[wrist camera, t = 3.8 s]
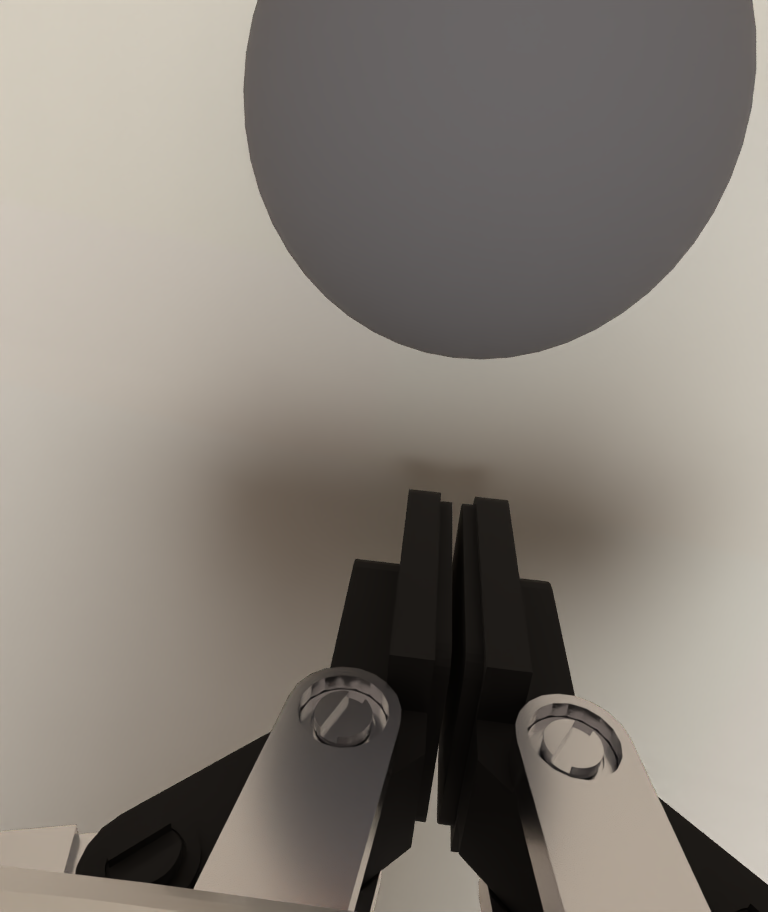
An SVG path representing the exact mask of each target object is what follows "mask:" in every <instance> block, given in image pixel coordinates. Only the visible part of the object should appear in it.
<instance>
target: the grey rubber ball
mask: <svg viewBox="0 0 768 912" xmlns="http://www.w3.org/2000/svg"><path fill="white" fill-rule="evenodd" d="M755 74H756V26H755V18H754V11H753V3H752V0H258V1H257V5H256V8H255V11H254V14H253V19H252V24H251V29H250V35H249V40H248V45H247V51H246V62H245V76H244V111H245V128H246V134H247V141H248V147H249V153H250V159H251V163H252V167H253V170H254V174H255V177H256V181H257V185H258V188H259V192H260V194H261V197H262V199H263V202H264V204H265V207H266V209H267V211H268V214H269V216H270V219H271V221H272V223H273V225H274V227H275V229H276V231H277V232H278V234H279V236H280V238H281V240H282V241H283V243H284V245H285V247H286V249H287V250H288V252H289V253H290V255H291V256H292V257H293V259H294V260H295V261H296V263H297V264H298V265H299V267H300V268H301V270H302V271H303V272H304V274H305V275H306V276H307V277H308V278H309V279H310V281H311V282H312V283H313V284H314V285H315V286H316V287H317V288H318V289H319V290H320V291H321V292H322V293H323V294H324V296H325V297H326V298H328V299H329V300H330V301H331V302H332V303H334V304H335V305H336V306H337V307H338V308H340V309H341V310H342V311H343V312H344V313H346V314H347V315H348V316H349V317H351V318H352V319H354V320H356V321H357V322H359V323H360V324H362V325H363V326H365V327H367V328H368V329H370V330H371V331H373V332H375V333H377V334H379V335H381V336H383V337H386V338H388V339H390V340H392V341H394V342H396V343H398V344H401V345H404V346H407V347H410V348H413V349H417V350H420V351H423V352H426V353H431V354H437V355H442V356H447V357H453V358H469V359H493V358H507V357H514V356H520V355H525V354H530V353H535V352H540V351H543V350H546V349H549V348H552V347H555V346H558V345H561V344H564V343H567V342H570V341H572V340H574V339H576V338H578V337H580V336H583V335H585V334H587V333H589V332H591V331H593V330H595V329H597V328H599V327H600V326H602V325H604V324H605V323H607V322H609V321H610V320H612V319H613V318H615V317H617V316H618V315H620V314H622V313H623V312H624V311H626V310H627V309H628V308H630V307H631V306H632V305H633V304H635V303H636V302H637V301H639V300H640V299H641V298H642V297H644V296H645V295H646V294H648V293H649V292H650V291H651V290H652V289H653V288H654V287H655V286H656V285H657V284H658V283H659V282H660V281H661V280H662V279H663V278H664V277H665V276H666V275H667V274H668V273H669V272H670V271H671V270H672V269H673V268H674V267H675V266H676V264H677V263H678V262H679V261H680V260H681V258H682V257H683V256H684V255H685V253H686V252H687V251H688V250H689V248H690V247H691V246H692V245H693V244H694V242H695V241H696V239H697V238H698V236H699V235H700V233H701V232H702V230H703V228H704V227H705V225H706V224H707V222H708V221H709V219H710V218H711V216H712V214H713V213H714V211H715V209H716V207H717V205H718V203H719V201H720V199H721V197H722V195H723V193H724V191H725V189H726V187H727V185H728V183H729V181H730V178H731V176H732V173H733V170H734V167H735V165H736V162H737V159H738V156H739V154H740V151H741V148H742V145H743V142H744V137H745V133H746V129H747V125H748V121H749V116H750V112H751V108H752V100H753V92H754V83H755Z"/></svg>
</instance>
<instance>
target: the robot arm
mask: <svg viewBox="0 0 768 912" xmlns="http://www.w3.org/2000/svg"><path fill="white" fill-rule="evenodd" d="M440 497H441V493H437V492H428V491H419V490H411V489H409V495H408V503H407V511H406V520H405V528H404V536H403V545H402V553H401V561H400V564H394V563H386V562H377V561H369V560H360V559H355V561H354V565H353V569H352V574H351V578H350V583H349V587H348V592H347V596H346V600H345V605H344V609H343V614H342V618H341V623H340V627H339V632H338V636H337V640H336V645H335V649H334V654H333V658H332V663H331V667H330V668H326V669H323V670H320V671H318V672H315V673H312V674H310V675H309V676H307V677H306V678H305V679H303V680H302V681H300V682H299V683H298V684H297V685H296V686H295V688H294V689H293V691H292V692H291V693H290V695H289V696H288V698H287V700H286V702H285V704H284V706H283V708H282V710H281V712H280V714H279V717H278V719H277V721H276V723H275V725H274V727H273V729H272V731H271V732H269V733H267V734H266V735H264V736H262V737H260V738H258V739H257V740H255V741H253V742H251V743H249V744H248V745H246V746H244V747H242V748H240V749H239V750H237V751H235V752H233V753H231V754H230V755H228V756H226V757H224V758H222V759H220V760H219V761H217V762H215V763H213V764H211V765H210V766H208V767H206V768H204V769H202V770H201V771H199V772H197V773H195V774H193V775H192V776H190V777H188V778H186V779H184V780H183V781H181V782H179V783H177V784H175V785H174V786H172V787H170V788H168V789H166V790H164V791H163V792H161V793H159V794H157V795H155V796H154V797H152V798H150V799H148V800H146V801H145V802H143V803H141V804H139V805H137V806H136V807H134V808H132V809H130V810H128V811H127V812H125V813H123V814H121V815H120V816H118V817H117V818H116V819H114V820H113V821H111V822H110V823H109V824H107V825H106V826H104V827H103V828H102V829H101V830H100V831H99V832H93V833H82V834H78V829H77V824H76V825H65V826H53V827H42V828H30V829H19V830H7V831H0V912H374V908H375V904H376V900H377V896H378V892H379V888H380V883H381V875H382V870H383V869H384V868H385V867H386V866H388V865H389V864H390V863H392V862H393V861H394V860H395V859H397V858H398V857H399V856H401V855H402V854H403V853H404V852H406V851H407V850H408V849H409V848H411V844H412V837H413V831H414V824H415V821H421V822H426V818H427V812H428V806H429V800H430V793H431V787H432V781H433V775H434V769H435V763H436V757H437V751H438V745H439V755H438V797H437V823H438V824H443V825H450V826H451V851H452V852H459V855H460V856H461V857H462V858H463V859H464V860H465V861H466V862H467V863H468V865H469V866H470V867H471V868H472V869H473V870H474V871H475V872H476V873H477V875H478V876H479V882H478V885H479V902H480V907H481V912H768V885H767V884H766V883H765V882H764V881H762V880H761V879H760V878H759V877H757V876H756V875H755V874H754V873H752V872H751V871H750V870H749V869H747V868H746V867H745V866H744V865H742V864H741V863H740V862H739V861H737V860H736V859H735V858H734V857H732V856H731V855H730V854H729V853H727V852H726V851H725V850H724V849H722V848H721V847H720V846H719V845H718V844H716V843H715V842H714V841H713V840H711V839H710V838H709V837H708V836H706V835H705V834H704V833H703V832H701V831H700V830H699V829H698V828H696V827H695V826H694V825H693V824H691V823H690V822H689V821H688V820H686V819H685V818H684V817H683V816H681V815H680V814H679V813H678V812H676V811H675V810H674V809H673V808H671V807H670V806H669V805H668V804H666V803H665V802H664V801H663V800H661V799H660V798H659V797H658V796H657V794H656V792H655V789H654V787H653V785H652V783H651V781H650V779H649V776H648V774H647V772H646V770H645V768H644V766H643V763H642V761H641V759H640V757H639V755H638V753H637V750H636V748H635V746H634V744H633V742H632V740H631V738H630V737H629V735H628V733H627V732H626V730H625V729H624V727H623V726H622V724H620V723H619V722H618V721H617V720H616V719H615V718H614V717H613V716H612V715H611V714H610V713H609V712H607V711H606V710H604V709H602V708H601V707H599V706H598V705H596V704H594V703H593V702H590V701H587V700H585V699H582V698H579V697H576V696H575V694H574V690H573V685H572V680H571V676H570V671H569V666H568V661H567V657H566V652H565V647H564V642H563V638H562V633H561V628H560V623H559V619H558V614H557V609H556V605H555V600H554V595H553V590H552V587H551V584H550V583H549V582H545V581H537V580H529V579H520V578H519V572H518V565H517V558H516V551H515V544H514V537H513V530H512V524H511V517H510V510H509V503H508V501H507V500H499V499H490V498H481V497H475V499H474V503H473V505H469V504H462V506H461V510H460V517H459V523H458V530H457V537H456V543H455V550H454V557H453V563H452V503H451V502H442V501H440Z"/></svg>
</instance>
